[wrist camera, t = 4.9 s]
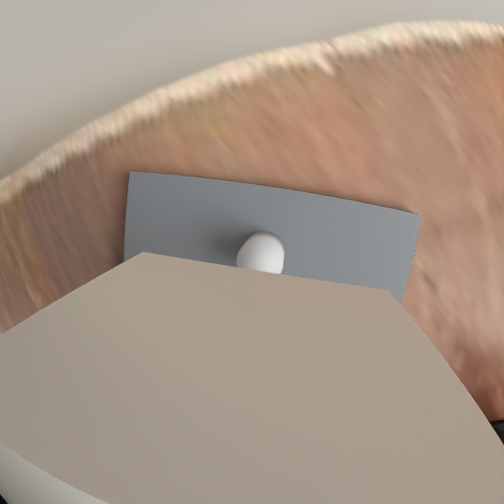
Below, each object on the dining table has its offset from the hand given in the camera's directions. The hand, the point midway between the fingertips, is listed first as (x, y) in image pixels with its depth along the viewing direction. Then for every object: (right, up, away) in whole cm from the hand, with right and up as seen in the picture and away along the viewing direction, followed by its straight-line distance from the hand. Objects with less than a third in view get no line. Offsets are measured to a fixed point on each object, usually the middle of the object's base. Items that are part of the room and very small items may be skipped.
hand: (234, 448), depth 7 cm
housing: (0, 0, +1) cm, 1 cm away
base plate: (+1, +4, +11) cm, 12 cm away
